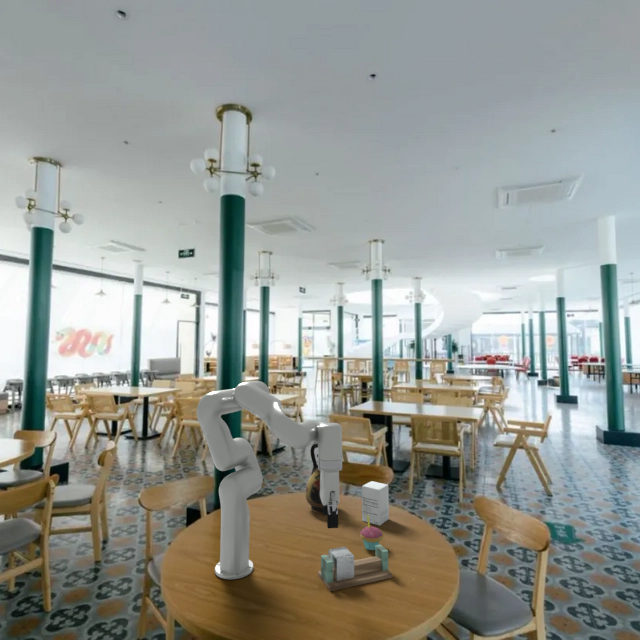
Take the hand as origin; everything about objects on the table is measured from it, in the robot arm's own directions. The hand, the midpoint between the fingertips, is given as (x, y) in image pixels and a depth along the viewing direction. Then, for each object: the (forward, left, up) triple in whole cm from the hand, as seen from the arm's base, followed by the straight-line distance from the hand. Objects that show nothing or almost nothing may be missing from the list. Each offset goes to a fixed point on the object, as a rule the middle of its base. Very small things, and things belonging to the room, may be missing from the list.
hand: (330, 521), depth 126 cm
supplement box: (-44, +40, -21) cm, 64 cm away
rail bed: (-6, +11, -21) cm, 25 cm away
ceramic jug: (-64, +22, -21) cm, 71 cm away
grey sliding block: (-6, +6, -20) cm, 22 cm away
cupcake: (-22, +26, -21) cm, 41 cm away
